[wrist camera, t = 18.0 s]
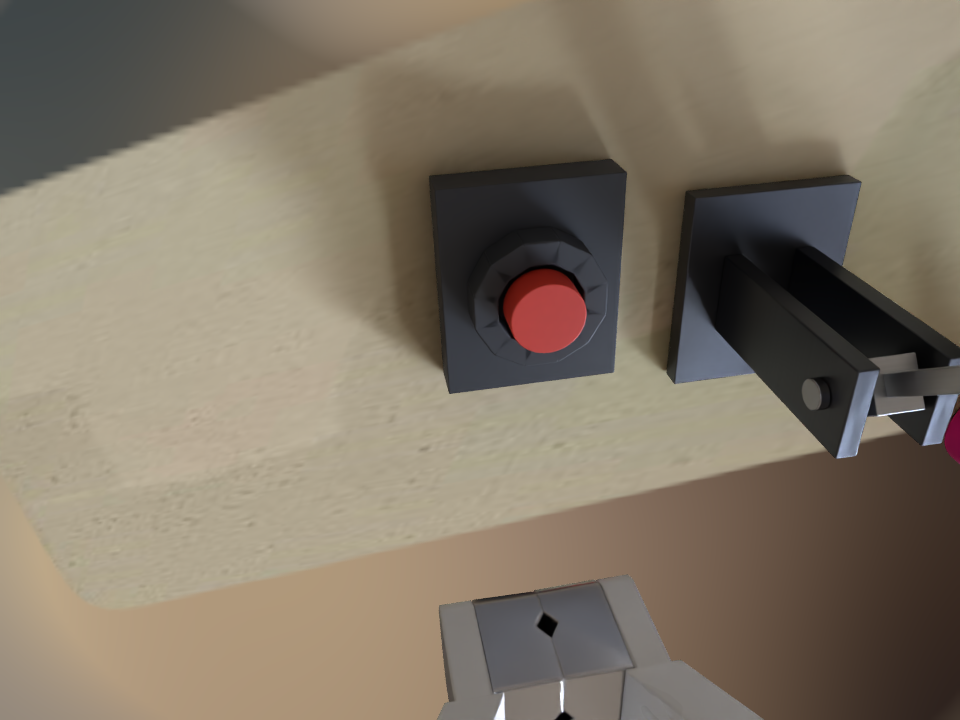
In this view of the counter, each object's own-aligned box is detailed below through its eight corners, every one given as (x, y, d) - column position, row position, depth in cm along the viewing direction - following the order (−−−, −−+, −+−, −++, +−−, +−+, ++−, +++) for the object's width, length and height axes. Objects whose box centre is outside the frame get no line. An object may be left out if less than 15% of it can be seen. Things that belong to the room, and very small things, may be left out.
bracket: (685, 190, 38) (828, 301, 27) (848, 174, 39) (1046, 275, 29) (665, 373, 44) (777, 525, 33) (809, 354, 45) (961, 495, 34)
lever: (995, 341, 23) (1009, 421, 23) (1139, 322, 23) (1153, 398, 23) (799, 367, 34) (807, 421, 33) (901, 353, 34) (910, 406, 34)
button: (501, 272, 35) (509, 288, 33) (577, 264, 35) (588, 279, 34) (503, 339, 37) (511, 358, 35) (575, 331, 37) (585, 348, 36)
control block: (428, 175, 36) (439, 203, 32) (612, 158, 37) (641, 183, 33) (443, 372, 41) (454, 413, 38) (601, 352, 42) (625, 390, 39)
